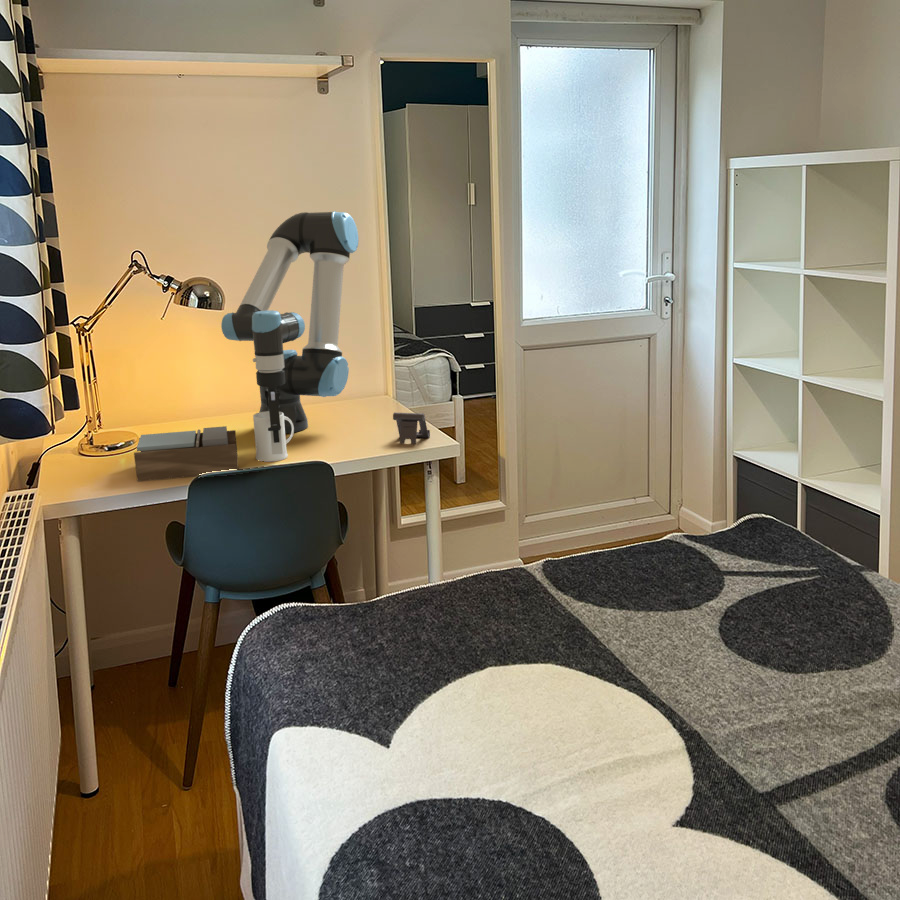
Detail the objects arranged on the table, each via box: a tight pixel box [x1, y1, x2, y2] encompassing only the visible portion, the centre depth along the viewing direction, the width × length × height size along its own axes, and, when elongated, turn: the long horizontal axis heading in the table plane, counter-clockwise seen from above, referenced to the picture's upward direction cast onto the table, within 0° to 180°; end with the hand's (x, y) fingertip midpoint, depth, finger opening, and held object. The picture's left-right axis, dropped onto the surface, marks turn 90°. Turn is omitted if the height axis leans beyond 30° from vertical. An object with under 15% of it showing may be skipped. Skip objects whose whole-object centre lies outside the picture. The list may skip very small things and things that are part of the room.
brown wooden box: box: [133, 429, 239, 482], centre depth 258 cm, size 16×25×8 cm, turn 102°
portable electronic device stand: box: [392, 412, 431, 445], centre depth 278 cm, size 9×8×8 cm
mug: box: [252, 411, 295, 463], centre depth 266 cm, size 12×8×12 cm
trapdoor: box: [136, 425, 228, 452], centre depth 257 cm, size 22×13×6 cm, turn 102°
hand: (276, 447), depth 267 cm, fingers open, 13 cm apart
